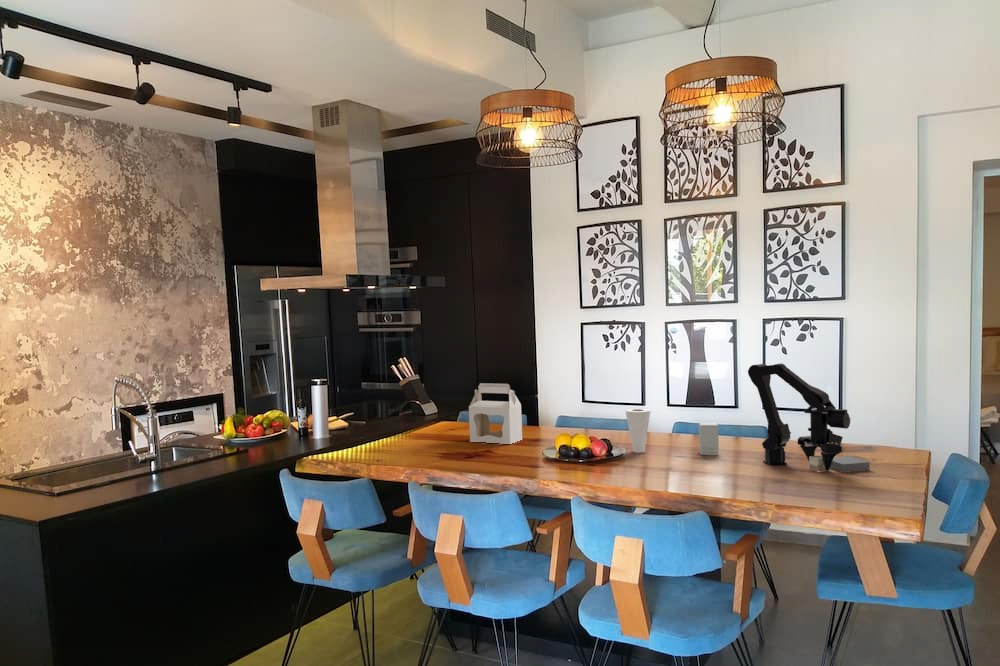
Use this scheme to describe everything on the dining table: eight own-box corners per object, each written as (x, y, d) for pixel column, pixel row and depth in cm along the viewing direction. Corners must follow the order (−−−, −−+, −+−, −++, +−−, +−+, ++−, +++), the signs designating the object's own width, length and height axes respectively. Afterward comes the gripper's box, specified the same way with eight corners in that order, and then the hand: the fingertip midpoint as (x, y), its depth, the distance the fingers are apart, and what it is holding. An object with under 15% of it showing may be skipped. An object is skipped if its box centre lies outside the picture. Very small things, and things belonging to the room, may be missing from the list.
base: (842, 472, 256) (842, 464, 256) (823, 465, 267) (823, 458, 267) (869, 470, 258) (869, 462, 258) (849, 463, 269) (849, 456, 269)
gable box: (469, 442, 338) (467, 384, 337) (482, 437, 350) (480, 381, 349) (510, 445, 328) (508, 385, 327) (522, 440, 340) (521, 382, 339)
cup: (652, 454, 298) (651, 412, 298) (626, 454, 300) (625, 412, 299) (650, 449, 309) (649, 408, 308) (626, 449, 310) (625, 408, 310)
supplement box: (719, 455, 292) (718, 425, 291) (700, 455, 293) (699, 425, 293) (717, 451, 299) (716, 422, 298) (699, 451, 300) (698, 422, 300)
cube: (817, 472, 258) (817, 459, 258) (809, 469, 263) (809, 456, 263) (830, 471, 259) (829, 458, 259) (821, 468, 264) (821, 455, 264)
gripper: (855, 428, 253) (855, 471, 253) (822, 420, 271) (823, 460, 271) (827, 430, 251) (828, 473, 251) (796, 422, 269) (797, 462, 270)
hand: (819, 467), depth 261 cm, fingers open, 9 cm apart
